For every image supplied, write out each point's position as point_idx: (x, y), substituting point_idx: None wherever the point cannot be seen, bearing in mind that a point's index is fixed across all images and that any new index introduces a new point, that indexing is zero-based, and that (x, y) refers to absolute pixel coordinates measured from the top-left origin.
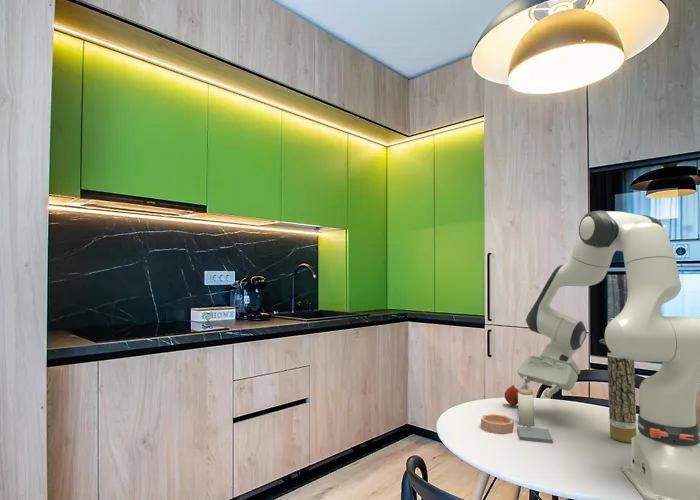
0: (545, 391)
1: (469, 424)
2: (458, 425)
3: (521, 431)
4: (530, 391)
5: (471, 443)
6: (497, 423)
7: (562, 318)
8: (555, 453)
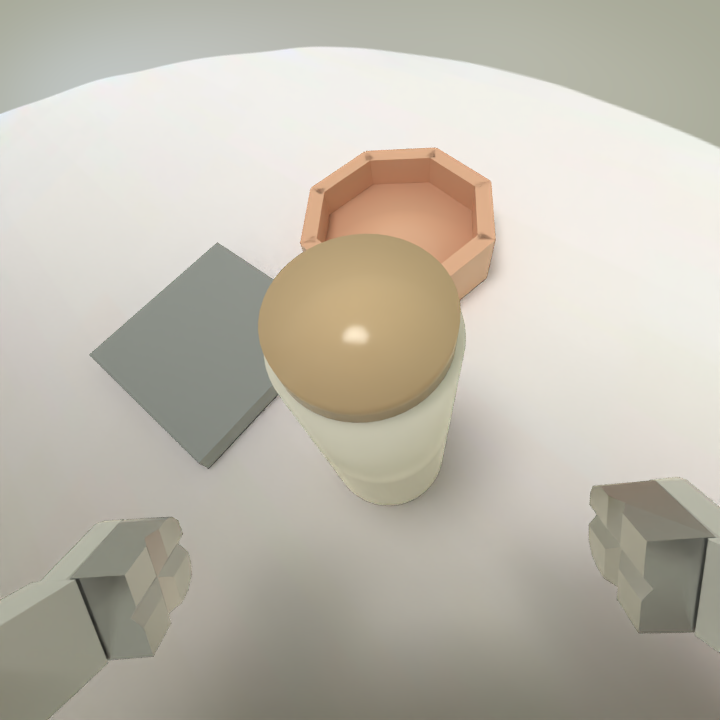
0: (140, 547)
1: (501, 167)
2: (503, 124)
3: (258, 288)
4: (275, 326)
5: (301, 95)
6: (337, 181)
7: None
8: (40, 292)
